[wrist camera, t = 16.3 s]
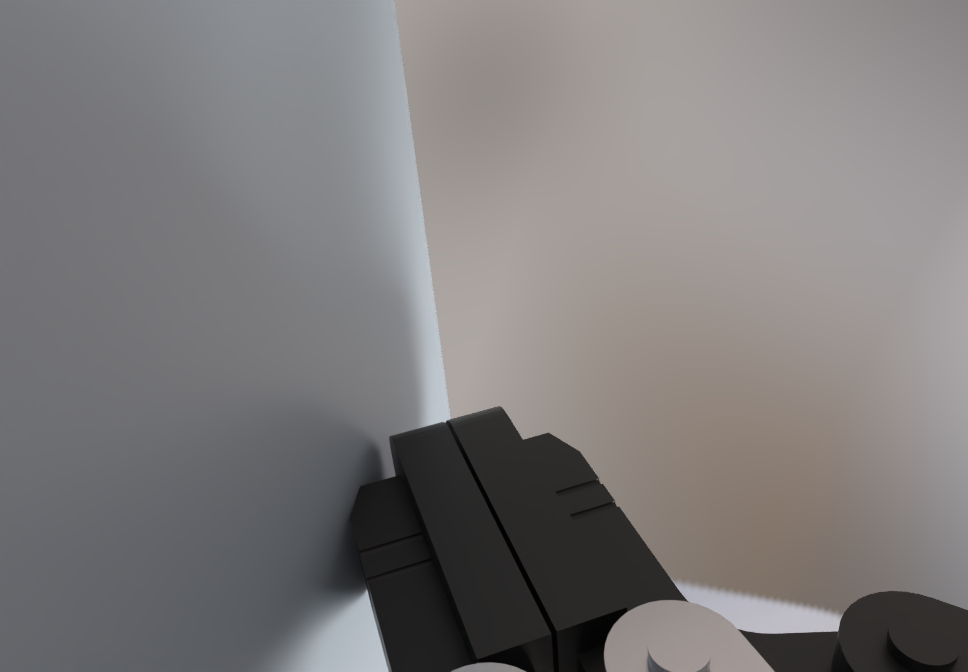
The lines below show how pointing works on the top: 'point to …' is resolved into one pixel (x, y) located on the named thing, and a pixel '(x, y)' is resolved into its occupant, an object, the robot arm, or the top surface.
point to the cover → (203, 329)
